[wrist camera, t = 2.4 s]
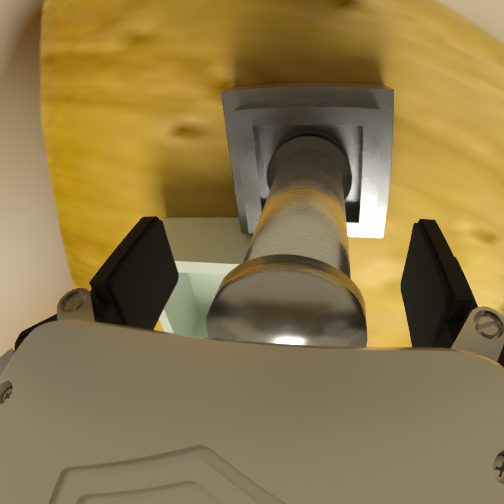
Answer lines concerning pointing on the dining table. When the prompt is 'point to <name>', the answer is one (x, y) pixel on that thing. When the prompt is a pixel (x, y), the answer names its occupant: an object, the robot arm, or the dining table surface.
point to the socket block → (319, 118)
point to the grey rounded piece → (296, 256)
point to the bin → (200, 267)
